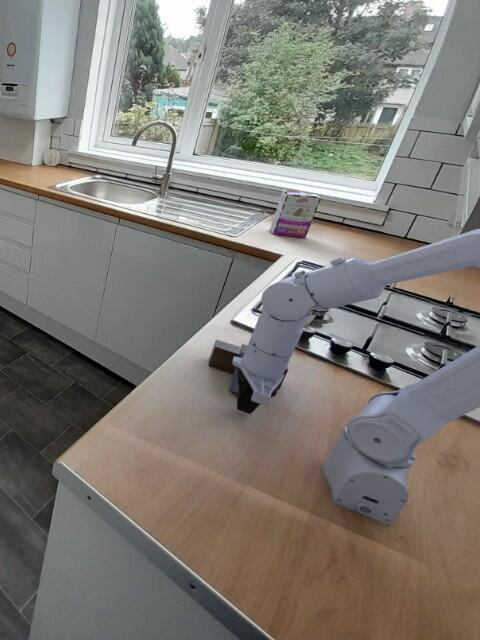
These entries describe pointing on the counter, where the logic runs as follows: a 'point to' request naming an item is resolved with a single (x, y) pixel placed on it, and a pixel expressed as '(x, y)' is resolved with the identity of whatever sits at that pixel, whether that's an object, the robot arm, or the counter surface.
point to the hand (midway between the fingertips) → (243, 409)
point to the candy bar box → (295, 214)
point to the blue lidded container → (234, 382)
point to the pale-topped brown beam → (228, 358)
